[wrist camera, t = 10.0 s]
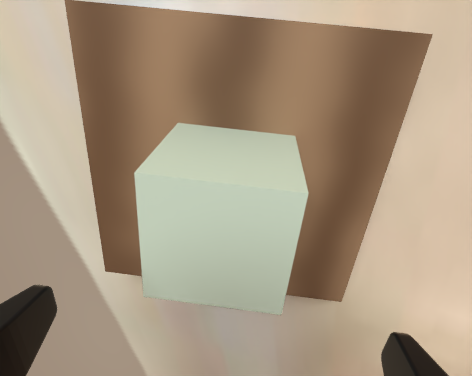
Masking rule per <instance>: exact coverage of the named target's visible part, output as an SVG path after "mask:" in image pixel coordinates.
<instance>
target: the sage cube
mask: <svg viewBox="0 0 472 376" xmlns="http://www.w3.org/2000/svg"><path fill="white" fill-rule="evenodd" d="M134 176H135V189H136V202H137V216H138V229H139V242H140V256H141V269H142V282H143V296H144V297H149V298H157V299H164V300H172V301H179V302H187V303H194V304H202V305H209V306H217V307H224V308H232V309H239V310H247V311H254V312H262V313H269V314H277V315H281V314H282V310H283V305H284V301H285V296H286V292H287V287H288V283H289V278H290V274H291V270H292V265H293V261H294V256H295V252H296V247H297V243H298V238H299V234H300V229H301V225H302V220H303V216H304V211H305V207H306V202H307V198H308V189H307V184H306V180H305V176H304V172H303V167H302V163H301V159H300V154H299V150H298V146H297V141H296V137H295V136H292V135H283V134H274V133H265V132H256V131H247V130H238V129H229V128H220V127H211V126H202V125H193V124H184V123H177V124H176V126H175V127H174V128H173V129H172V130H171V131H170V132H169V134H168V135H167V136H166V137H165V138H164V139H163V140H162V142H161V143H160V144H159V145H158V146H157V147H156V148H155V150H154V151H153V152H152V153H151V154H150V155H149V156H148V158H147V159H146V160H145V161H144V162H143V163H142V164H141V166H140V167H139V168H138V169H137V170H136V171H135V172H134Z"/></svg>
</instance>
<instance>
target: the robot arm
mask: <svg viewBox="0 0 472 376" xmlns="http://www.w3.org/2000/svg"><path fill="white" fill-rule="evenodd" d="M56 313H57V305H56V302H55V298H54V294H53V291H52V288H51V287H49V286H43V285H33V286H31V287H29V288H28V289H26V290H24V291H22V292H21V293H19V294H17V295H15V296H14V297H12V298H10V299H8V300H7V301H5V302H3V303H1V304H0V376H26V374H27V373H28V371H29V369H30V367H31V365H32V363H33V361H34V359H35V357H36V355H37V353H38V351H39V349H40V347H41V345H42V343H43V341H44V339H45V337H46V335H47V332H48V330H49V328H50V326H51V324H52V322H53V320H54V318H55V316H56ZM381 361H382V367H383V373H384V376H448V374H447V373H446V372H445V371H444V370H443V369H442V368H441V367H440V366H439V365H438V364H437V363H436V362H435V361H434V360H433V359H432V358H431V356H430V355H429V354H428V353H427V352H426V351H425V350H424V349H423V348H422V347H421V346H420V345H419V344H418V343H417V342H416V341H415V340H414V339H413V338H412V337H411V336H410V335H408V334H404V333H397V332H393V333H391V334H390V336H389V338H388V340H387V342H386V344H385V346H384V348H383V351H382V354H381Z"/></svg>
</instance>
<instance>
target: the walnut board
mask: <svg viewBox="0 0 472 376" xmlns="http://www.w3.org/2000/svg"><path fill="white" fill-rule="evenodd" d="M65 5H66V12H67V19H68V25H69V32H70V39H71V45H72V52H73V59H74V65H75V72H76V79H77V85H78V92H79V98H80V105H81V112H82V118H83V125H84V132H85V138H86V145H87V152H88V158H89V165H90V172H91V178H92V185H93V192H94V198H95V205H96V212H97V218H98V225H99V232H100V238H101V245H102V252H103V258H104V265H105V271H106V272H114V273H122V274H130V275H137V276H142V269H141V256H140V242H139V229H138V216H137V202H136V189H135V176H134V172H135V171H136V170H137V169H138V168H139V167H140V166H141V164H142V163H143V162H144V161H145V160H146V159H147V158H148V156H149V155H150V154H151V153H152V152H153V151H154V150H155V148H156V147H157V146H158V145H159V144H160V143H161V142H162V140H163V139H164V138H165V137H166V136H167V135H168V134H169V132H170V131H171V130H172V129H173V128H174V127H175V126H176V124H177V123H184V124H193V125H202V126H211V127H220V128H229V129H238V130H247V131H256V132H265V133H274V134H283V135H292V136H295V137H296V141H297V146H298V150H299V154H300V159H301V163H302V167H303V172H304V176H305V180H306V184H307V189H308V198H307V202H306V207H305V211H304V216H303V220H302V225H301V229H300V234H299V238H298V243H297V247H296V252H295V256H294V261H293V265H292V270H291V274H290V278H289V283H288V287H287V292H286V295H292V296H300V297H308V298H316V299H323V300H331V301H339V302H341V301H342V298H343V295H344V293H345V290H346V287H347V284H348V281H349V278H350V275H351V272H352V269H353V266H354V263H355V260H356V257H357V254H358V252H359V249H360V246H361V243H362V240H363V237H364V234H365V231H366V228H367V225H368V222H369V219H370V216H371V213H372V211H373V208H374V205H375V202H376V199H377V196H378V193H379V190H380V187H381V184H382V181H383V178H384V175H385V172H386V170H387V167H388V164H389V161H390V158H391V155H392V152H393V149H394V146H395V143H396V140H397V137H398V134H399V131H400V129H401V126H402V123H403V120H404V117H405V114H406V111H407V108H408V105H409V102H410V99H411V96H412V93H413V90H414V88H415V85H416V82H417V79H418V76H419V73H420V70H421V67H422V64H423V61H424V58H425V55H426V52H427V49H428V47H429V44H430V41H431V38H432V35H433V34H423V33H413V32H402V31H391V30H381V29H370V28H360V27H349V26H339V25H328V24H317V23H307V22H296V21H286V20H275V19H264V18H254V17H243V16H233V15H222V14H212V13H201V12H190V11H180V10H169V9H159V8H148V7H138V6H127V5H116V4H106V3H95V2H85V1H74V0H65Z"/></svg>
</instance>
